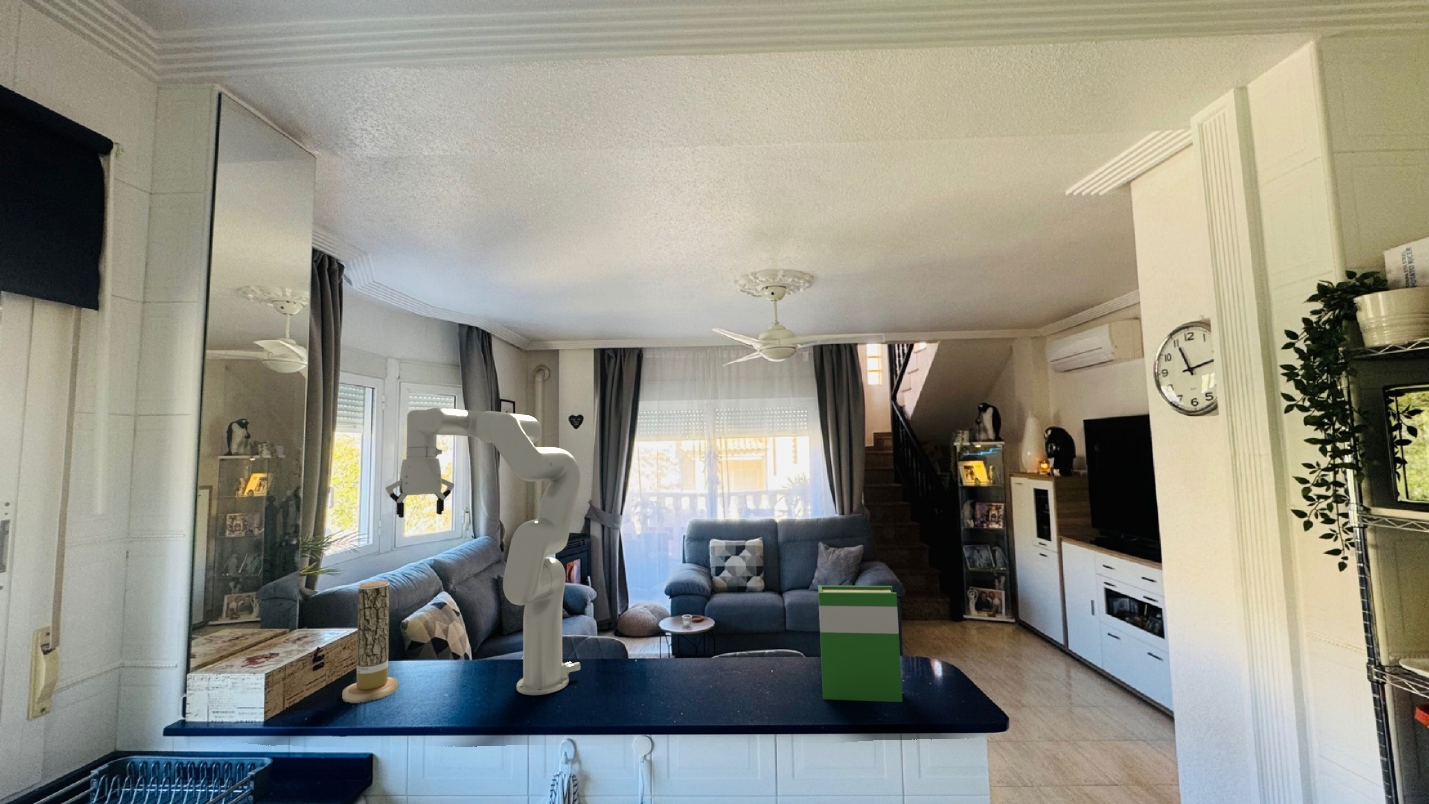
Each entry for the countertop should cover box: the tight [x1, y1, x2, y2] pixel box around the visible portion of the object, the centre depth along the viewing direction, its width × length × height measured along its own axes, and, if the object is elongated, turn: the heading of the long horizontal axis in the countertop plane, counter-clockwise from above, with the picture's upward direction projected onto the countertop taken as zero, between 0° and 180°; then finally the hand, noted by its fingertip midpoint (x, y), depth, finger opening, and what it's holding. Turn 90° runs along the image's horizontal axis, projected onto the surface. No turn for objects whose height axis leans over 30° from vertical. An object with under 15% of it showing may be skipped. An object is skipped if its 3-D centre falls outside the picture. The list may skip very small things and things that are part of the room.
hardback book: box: [817, 585, 903, 703], centre depth 137 cm, size 18×7×24 cm, turn 81°
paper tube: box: [355, 580, 391, 690], centre depth 146 cm, size 7×7×25 cm
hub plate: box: [341, 676, 399, 704], centre depth 145 cm, size 12×12×2 cm
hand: (420, 515), depth 161 cm, fingers open, 9 cm apart
